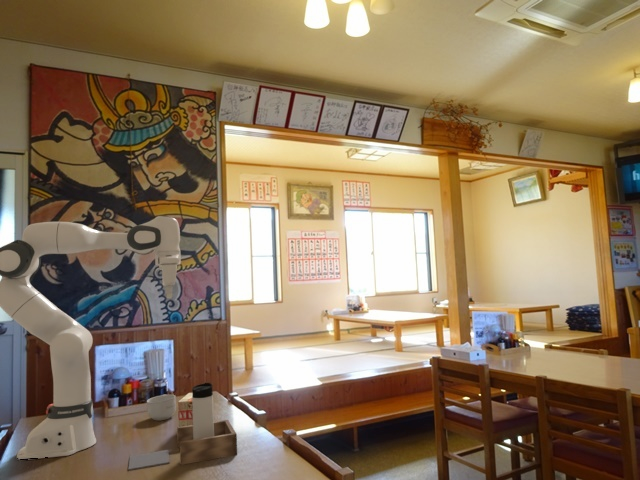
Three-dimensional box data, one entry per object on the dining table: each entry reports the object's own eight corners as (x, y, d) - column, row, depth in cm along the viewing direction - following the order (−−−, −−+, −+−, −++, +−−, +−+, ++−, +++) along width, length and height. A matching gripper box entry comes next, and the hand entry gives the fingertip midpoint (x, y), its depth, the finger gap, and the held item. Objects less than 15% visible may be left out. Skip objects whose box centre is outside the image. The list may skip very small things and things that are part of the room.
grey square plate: (128, 470, 129) (128, 469, 129) (130, 457, 139) (130, 456, 139) (169, 463, 133) (169, 461, 133) (168, 450, 143) (168, 449, 143)
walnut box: (180, 464, 131) (180, 443, 132) (177, 446, 146) (177, 427, 147) (237, 454, 137) (236, 433, 137) (228, 438, 152) (227, 419, 153)
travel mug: (218, 447, 143) (217, 382, 145) (207, 455, 137) (205, 387, 139) (201, 446, 145) (200, 382, 147) (189, 454, 139) (187, 386, 141)
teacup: (170, 421, 174) (170, 400, 175) (142, 423, 174) (142, 401, 175) (182, 411, 188) (181, 391, 189) (156, 412, 188) (155, 393, 189)
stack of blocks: (196, 419, 176) (195, 386, 178) (212, 418, 176) (211, 386, 177) (178, 438, 155) (177, 401, 156) (196, 437, 155) (196, 400, 156)
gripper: (158, 262, 175) (159, 298, 174) (159, 258, 156) (160, 299, 155) (175, 261, 178) (176, 297, 176) (178, 258, 158) (179, 298, 157)
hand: (169, 298), depth 165 cm, fingers open, 8 cm apart
